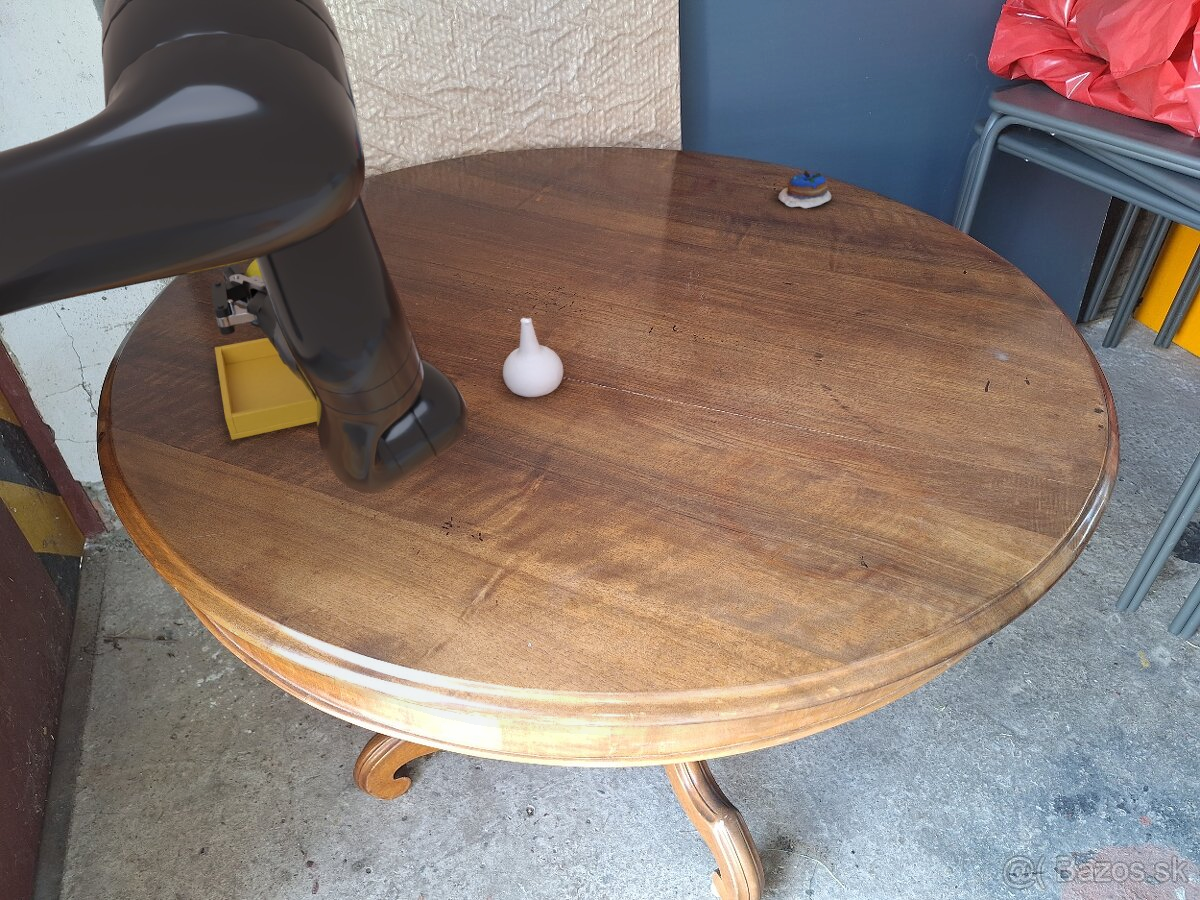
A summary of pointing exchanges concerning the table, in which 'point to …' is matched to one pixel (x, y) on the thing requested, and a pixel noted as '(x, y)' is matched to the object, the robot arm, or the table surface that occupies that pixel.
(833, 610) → the table surface
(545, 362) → the garlic bulb
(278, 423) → the yellow tray
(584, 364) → the table surface
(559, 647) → the table surface
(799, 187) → the dessert
